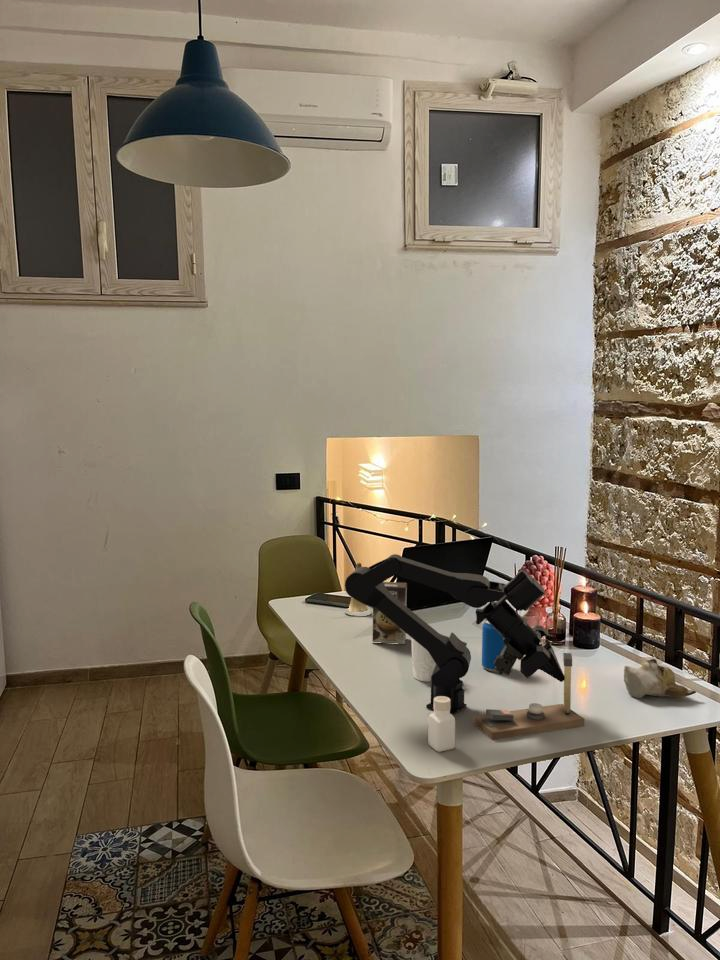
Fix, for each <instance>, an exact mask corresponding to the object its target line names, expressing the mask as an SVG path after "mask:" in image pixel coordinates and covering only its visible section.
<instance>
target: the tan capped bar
mask: <svg viewBox="0 0 720 960" xmlns="http://www.w3.org/2000/svg"><path fill="white" fill-rule="evenodd" d="M562 656H563V657H562V662H563V669H564V670H563V674H564V677H565V680H564V681H563V705H564V711H565V714H566V715H569V714H570V709H571V707H572V706H571V701H572V700H571V697H572V695H571V694H572V693H571V690H572V686H571V685H572V667H573V656H572V653H569V652H563V655H562Z"/></svg>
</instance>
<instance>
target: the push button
mask: <svg viewBox="0 0 720 960" xmlns="http://www.w3.org/2000/svg"><path fill="white" fill-rule="evenodd" d="M542 707H543V705H542V704H540V703H535V702H533V703H530V704H528V709H529V712H530V713H533V714H541V713H542Z"/></svg>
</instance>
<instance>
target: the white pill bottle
mask: <svg viewBox="0 0 720 960" xmlns="http://www.w3.org/2000/svg"><path fill="white" fill-rule="evenodd" d="M450 703H451V700H450V698H448V697H445V696H437V697H435V698H434V704H433V708H434V710H433V712H432V713H430V714H429V715H428V725H427V726H428V727H427V729H428V735H427V737H428V738H427V739H428V740H427V742H428V745H429V746H430V747H431V748H432V749H434V750H435V751H436V752H439V753H440V752H445V751H451V750H453V749H455V747H456V746H455V745H456V737H455V736H456V718H455V717H454V716H453V714H452V715H451V714H450V707H451V706H450V705H451V704H450Z"/></svg>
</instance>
